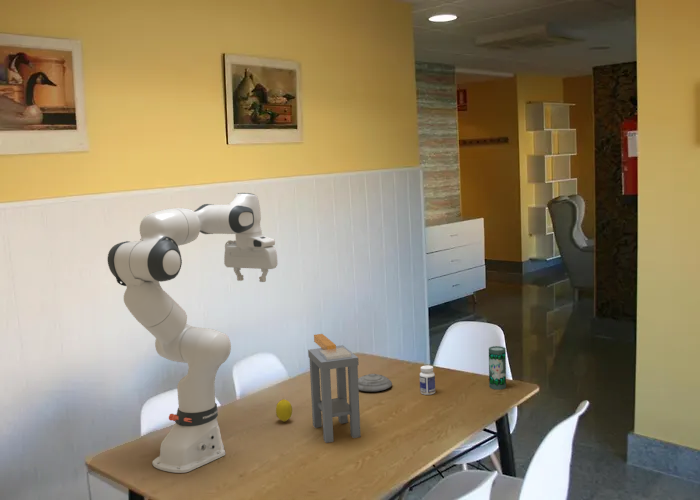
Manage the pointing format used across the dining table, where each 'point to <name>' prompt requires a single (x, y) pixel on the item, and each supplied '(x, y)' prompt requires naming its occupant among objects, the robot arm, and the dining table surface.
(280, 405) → the lemon
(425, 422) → the dining table surface
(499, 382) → the can
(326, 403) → the stool
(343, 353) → the turner
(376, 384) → the flying saucer
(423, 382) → the pill bottle
